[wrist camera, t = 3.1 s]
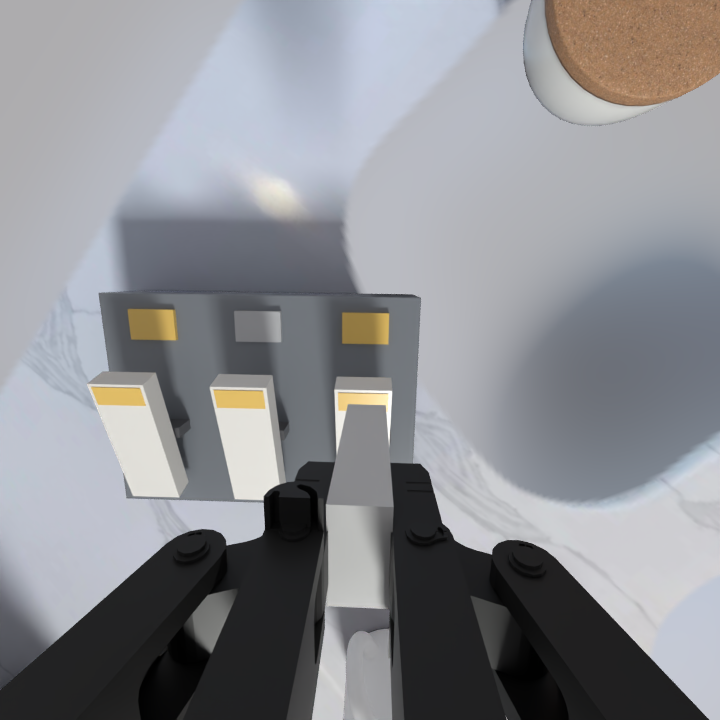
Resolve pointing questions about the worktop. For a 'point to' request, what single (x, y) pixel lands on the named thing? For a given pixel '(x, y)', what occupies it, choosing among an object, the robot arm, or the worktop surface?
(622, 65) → the lidded jar
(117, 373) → the switch
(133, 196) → the worktop surface
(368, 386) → the switch
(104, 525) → the worktop surface
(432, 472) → the worktop surface
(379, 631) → the mug
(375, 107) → the worktop surface
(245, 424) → the switch
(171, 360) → the switch unit
